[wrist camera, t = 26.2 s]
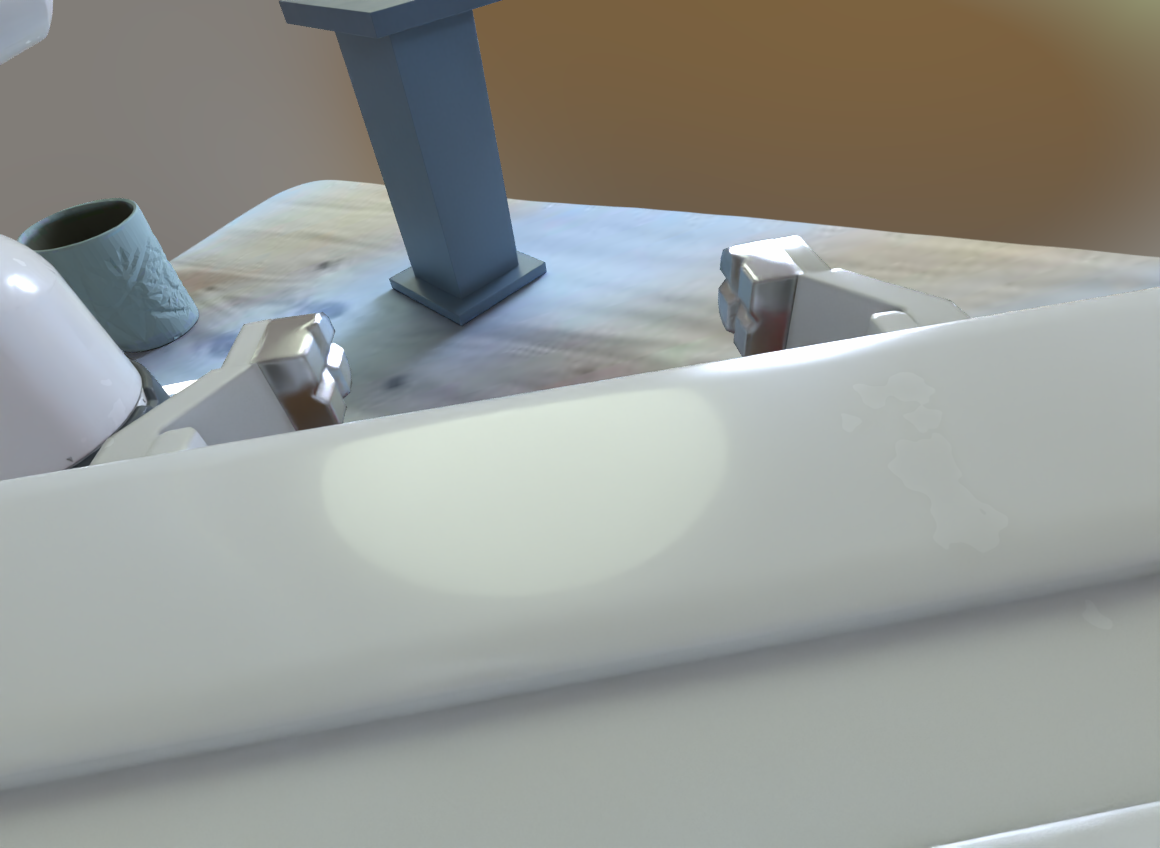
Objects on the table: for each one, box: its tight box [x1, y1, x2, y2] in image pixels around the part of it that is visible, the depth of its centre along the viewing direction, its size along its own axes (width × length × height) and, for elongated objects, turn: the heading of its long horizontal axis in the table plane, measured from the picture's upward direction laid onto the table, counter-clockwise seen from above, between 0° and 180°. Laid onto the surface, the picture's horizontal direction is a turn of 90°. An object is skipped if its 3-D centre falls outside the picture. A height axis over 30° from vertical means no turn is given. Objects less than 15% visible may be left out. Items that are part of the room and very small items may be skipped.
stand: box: [279, 0, 546, 326], centre depth 55 cm, size 13×13×26 cm
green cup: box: [17, 198, 199, 352], centre depth 59 cm, size 10×10×12 cm
